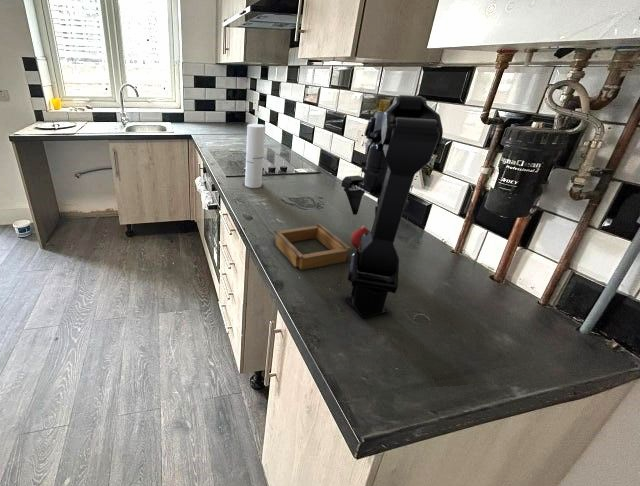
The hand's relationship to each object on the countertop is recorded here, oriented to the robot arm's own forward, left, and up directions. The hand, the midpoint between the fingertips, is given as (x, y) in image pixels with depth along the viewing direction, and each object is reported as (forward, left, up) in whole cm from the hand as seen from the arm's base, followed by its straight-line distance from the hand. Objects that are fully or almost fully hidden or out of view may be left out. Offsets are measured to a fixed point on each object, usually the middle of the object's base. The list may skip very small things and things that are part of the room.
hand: (365, 221), depth 87 cm
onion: (0, 0, -10) cm, 10 cm away
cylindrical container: (+59, +9, -9) cm, 60 cm away
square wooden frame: (+4, +14, -9) cm, 17 cm away
